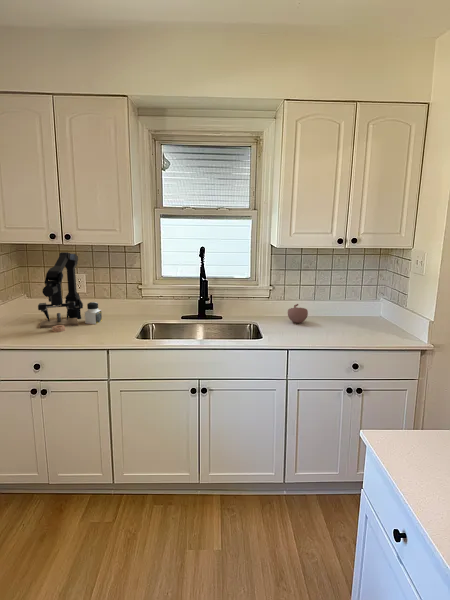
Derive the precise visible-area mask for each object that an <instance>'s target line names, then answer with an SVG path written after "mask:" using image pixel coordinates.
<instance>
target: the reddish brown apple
mask: <svg viewBox="0 0 450 600" xmlns="http://www.w3.org/2000/svg"><path fill="white" fill-rule="evenodd" d="M298 306H299V303H297V304H294V306H293V307H290V308H289V309H288V310H287V317H288V319H289V320H290V321H291V322H292V323H295V324H300V323H303V322H305V321H306V320H307V318H308V315H309V311H308V308H305V307H298Z"/></svg>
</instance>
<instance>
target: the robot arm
mask: <svg viewBox="0 0 450 600" xmlns="http://www.w3.org/2000/svg"><path fill="white" fill-rule="evenodd" d="M78 261H79V257H78V255H77V254H76V253H70V252H69V251H68V252H60V253H59V256H58V258H57V260H56V262H55V264H54V266H52V267H50V268H49V269H48V270H47V272H46V273H45V280H44V285H45V286H44V287H43V288H42V295H43V296H45V297H47V298H48V302H49V303H46V302H40V303H38V305H37V310H38V311H40V312H42V313H44V315H45V317H46V320H48V321H49V322H50V320H51V319H50V315H49V310H48V309H49V308H50V309H51V308H64V307H65V308H66V319H67V320H68V318H77V320H79V319H82V314H81V309H83V308H84V307H83V306H84V303H83V302H82V301H83V300H81V296H80V294H79V293H78V290H77V279H76V278H77V277H76V268H77V266H78V264H79V263H78ZM64 269H66V277H67V280H66V281H67V294H66V295H65V297H64V298H65V300H64V301H65V302H64V303H63V292H62V291H63V290H62V283H63V282H62V281H63V278H64V273H63V271H64Z"/></svg>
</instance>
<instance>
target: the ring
mask: <svg viewBox="0 0 450 600" xmlns="http://www.w3.org/2000/svg"><path fill="white" fill-rule="evenodd" d="M51 328H52V332H53V331H54V332H55V333H61V332H64V331H66V326H64V325H57V326H53V327H51Z"/></svg>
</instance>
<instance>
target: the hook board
mask: <svg viewBox="0 0 450 600" xmlns="http://www.w3.org/2000/svg"><path fill="white" fill-rule="evenodd" d="M61 316H62V315H61V313H60V312H57V313H56V318H55V319H49V320H50V322H49V321H48V319H43V320H42V319H41V320H40V324H39V329H48V328H49V329H50V328H52V327H53V326H57V325H64V326H65V327H73V326H74V327H75V326H78V325H79V324H78V323H79V322H78V319H77V318H69V317H68V320H67V318H62V317H61Z"/></svg>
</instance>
